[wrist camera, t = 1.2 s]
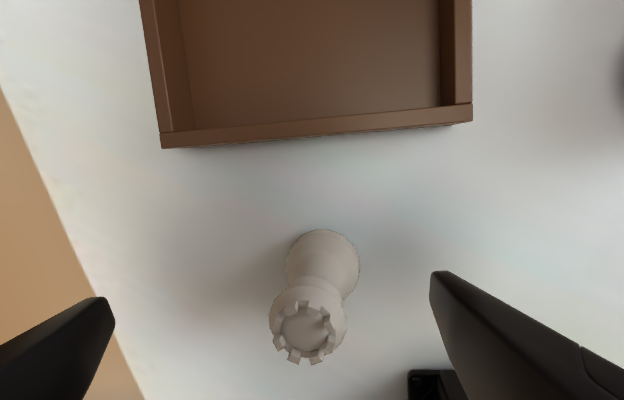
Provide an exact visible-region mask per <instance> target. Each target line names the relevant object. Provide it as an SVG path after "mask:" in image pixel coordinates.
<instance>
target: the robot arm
mask: <svg viewBox="0 0 624 400" xmlns="http://www.w3.org/2000/svg"><path fill="white" fill-rule="evenodd" d="M429 300H430V305H431V308H432V311H433V314H434V317H435V319H436V322H437V325H438V328H439V331H440V334H441V337H442V340H443V342H444V345H445V348H446V351H447V354H448V356H449V359H450V361H451V363H452V365H453V368H454V370H411V371H410V372H409V373H408V374H407V391H408V400H624V369H623V368H621V367H619V366H617V365H615V364H613V363H612V362H610V361H608V360H606V359H604V358H602V357H601V356H599V355H597V354H595V353H593V352H592V351H590V350H588V349H586V348H585V347H580V346H579V344H577V343H575V342H574V341H572V340H570V339H568V338H567V337H565V336H563V335H561V334H559V333H558V332H556V331H554V330H552V329H551V328H549V327H547V326H545V325H543V324H542V323H540V322H538V321H536V320H535V319H533V318H531V317H529V316H527V315H526V314H524V313H522V312H520V311H518V310H517V309H515V308H513V307H511V306H510V305H508V304H506V303H504V302H502V301H501V300H499V299H497V298H495V297H494V296H492V295H490V294H488V293H486V292H485V291H483V290H481V289H479V288H478V287H476V286H474V285H472V284H470V283H469V282H467V281H465V280H463V279H462V278H460V277H458V276H456V275H454V274H453V273H451V272H449V271H434V272H433V273H432V274H431V279H430V292H429ZM114 328H115V318H114V316H113V313H112V311H111V308H110V305H109V303H108V301H107V299H106V298H105V297H90V298H87V299H85V300H83V301H81V302H79V303H77V304H75V305H74V306H72V307H70V308H68V309H66V310H64V311H63V312H61V313H59V314H57V315H55V316H54V317H52V318H50V319H48V320H46V321H44V322H43V323H41V324H39V325H37V326H35V327H33V328H31V329H30V330H28V331H26V332H24V333H22V334H20V335H18V336H17V337H15V338H13V339H11V340H9V341H8V342H6V343H4V344H2V345H0V400H83V398H84V396H85V394H86V392H87V390H88V388H89V386H90V384H91V382H92V380H93V378H94V376H95V373H96V371H97V369H98V366H99V364H100V362H101V359H102V357H103V354H104V352H105V350H106V347H107V345H108V343H109V340H110V338H111V335H112V333H113V331H114ZM413 378H419V379H418V380H412V379H413Z"/></svg>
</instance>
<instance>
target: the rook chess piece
mask: <svg viewBox="0 0 624 400" xmlns="http://www.w3.org/2000/svg"><path fill="white" fill-rule="evenodd" d="M359 272H360V268H359V256H358V254H357V252H356V250H355V248H354V246H353V244H352V243H350V242H349V241H348V240H347V239H346V238H345V237H344V236H343V235H341V234H338V233H336V232H333V231H330V230H313V231H311V232H309V233H306V234H304V235H302V236H301V237H300V238H299V239H298V240H297V241H296V242H295V243H294V244H293V245H292V247H291V250H290V253H289V256H288V258H287V261H286V275H287V280H288V282H289V284H290V285H289V286H288V287H287V288H286V289H285V291H283V292H282V293H281V294H280V295H279V296H278V297H277V298H276V299H275V300H274V301H273V304H272V307H271V309H270V312H269V325H270V330H271V332H272V334H273V336H274V338H273V343H274V345H275V347H276V349H277V351H280V350H281V349H283V348H284V349H285V350H286V351H288V352H289V356H288V359H287V360H288V361H291V362H293V363H296V364H298V365H299V362H300V358H301V357H305V358H309V359H310V363H311V365H314V364H317V363H319V362H322V361H323V356H324V355H327V354H330V353H332V351H333V350H334V349H336V348H337V347H338V346H339V345H340V344H341V342H342V340H343V337H344V335H345V333H346V316H345V314H344V312H343V310H342V301H343V300H344V299H345V298H346V297H347V296H348V295H349V294H350V293H351V292H352V291H353V289H354V287H355V284H356V282H357V280H358V274H359Z"/></svg>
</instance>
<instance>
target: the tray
mask: <svg viewBox="0 0 624 400" xmlns="http://www.w3.org/2000/svg"><path fill="white" fill-rule="evenodd" d="M139 5H140V11H141V18H142V24H143V30H144V37H145V43H146V50H147V56H148V63H149V69H150V76H151V82H152V88H153V95H154V101H155V108H156V114H157V121H158V127H159V132H160V134H159V135H160V141H161V148H162V149H170V148H196V147H207V146H218V145H230V144H241V143H253V142H264V141H275V140H287V139H298V138H309V137H321V136H332V135H344V134H355V133H366V132H378V131H389V130H400V129H412V128H423V127H434V126H446V125H455V124H460V123H465V122H470V121H472V120H473V104H472V0H139Z"/></svg>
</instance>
